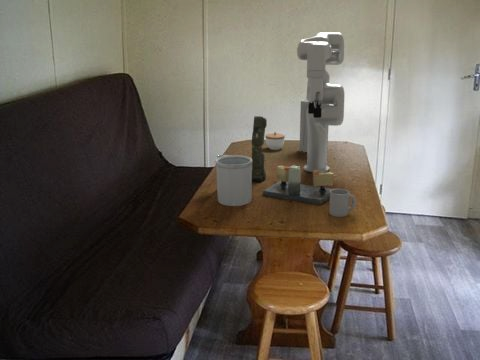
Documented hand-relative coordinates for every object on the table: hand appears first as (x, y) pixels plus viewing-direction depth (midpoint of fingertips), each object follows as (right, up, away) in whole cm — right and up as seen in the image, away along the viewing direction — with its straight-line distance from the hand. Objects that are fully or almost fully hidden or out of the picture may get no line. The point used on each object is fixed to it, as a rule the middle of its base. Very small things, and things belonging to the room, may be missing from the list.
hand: (314, 115), depth 235 cm
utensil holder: (-34, -36, -5) cm, 49 cm away
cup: (+8, -40, -21) cm, 46 cm away
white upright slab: (+9, -11, +76) cm, 77 cm away
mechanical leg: (-23, -27, +25) cm, 43 cm away
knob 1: (-12, -29, +9) cm, 32 cm away
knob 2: (+3, -31, 0) cm, 31 cm away
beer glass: (-38, -32, +9) cm, 50 cm away
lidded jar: (-12, -10, +82) cm, 83 cm away
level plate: (-6, -33, +2) cm, 34 cm away
